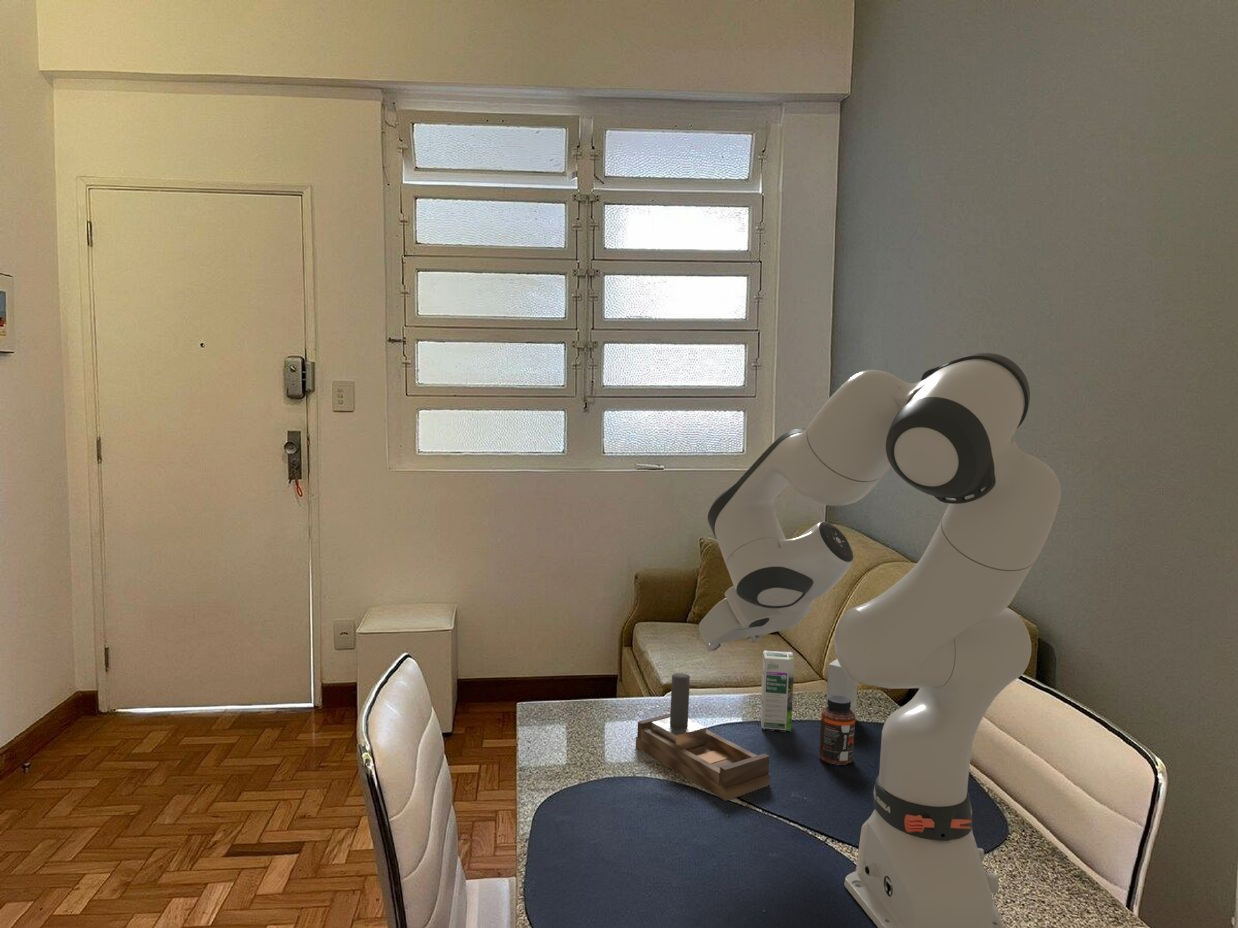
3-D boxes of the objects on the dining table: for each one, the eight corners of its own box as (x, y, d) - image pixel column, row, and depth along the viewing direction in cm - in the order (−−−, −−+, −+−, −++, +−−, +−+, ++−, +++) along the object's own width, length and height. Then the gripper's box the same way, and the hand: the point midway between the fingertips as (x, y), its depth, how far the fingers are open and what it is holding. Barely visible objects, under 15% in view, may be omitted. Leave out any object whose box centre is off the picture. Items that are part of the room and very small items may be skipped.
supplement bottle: (853, 768, 151) (857, 706, 150) (819, 764, 152) (822, 702, 151) (851, 754, 157) (855, 694, 156) (818, 751, 158) (821, 691, 157)
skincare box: (835, 712, 178) (839, 656, 176) (855, 718, 175) (859, 660, 174) (824, 721, 173) (827, 663, 172) (844, 727, 170) (848, 668, 169)
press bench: (770, 785, 144) (771, 756, 143) (724, 800, 138) (726, 770, 137) (678, 735, 163) (679, 709, 163) (635, 747, 157) (636, 720, 157)
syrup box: (761, 730, 167) (765, 657, 166) (759, 718, 173) (763, 648, 172) (791, 732, 166) (795, 659, 165) (788, 721, 172) (792, 650, 171)
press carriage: (705, 743, 154) (708, 678, 153) (675, 752, 150) (678, 685, 149) (680, 730, 160) (683, 667, 159) (650, 738, 156) (653, 673, 155)
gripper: (811, 574, 142) (765, 617, 151) (720, 588, 130) (676, 634, 139) (831, 606, 139) (782, 649, 148) (740, 624, 127) (693, 669, 136)
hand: (730, 642), depth 143 cm, fingers open, 8 cm apart
